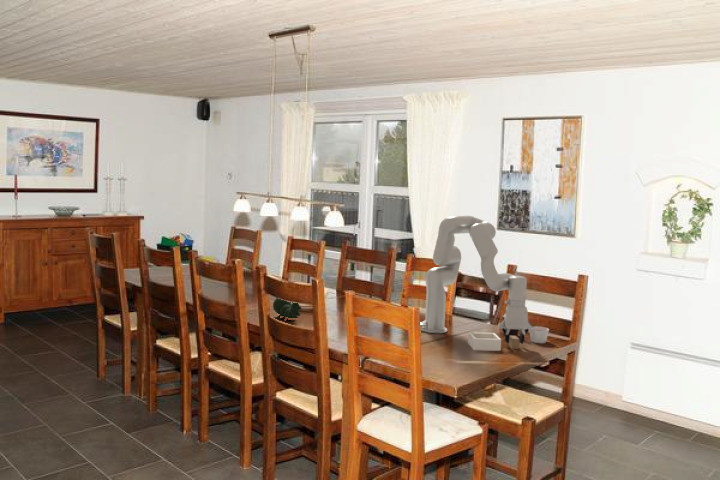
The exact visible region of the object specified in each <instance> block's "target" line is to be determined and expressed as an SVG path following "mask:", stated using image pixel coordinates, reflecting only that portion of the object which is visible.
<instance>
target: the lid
mask: <svg viewBox="0 0 720 480" xmlns="http://www.w3.org/2000/svg"><path fill="white" fill-rule="evenodd" d="M508 346H509V347H510V348H511V349H513V350H514V349H515V350H516V349H517V350H518V349H520V337H518V336H509V344H508Z"/></svg>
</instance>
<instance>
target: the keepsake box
mask: <svg viewBox="0 0 720 480" xmlns="http://www.w3.org/2000/svg"><path fill="white" fill-rule="evenodd" d="M467 334H468V335H467V344H468V345H469V346H470V347H471V349H472V350H473V351H490V352H491V351H493V352H494V351H498V352H500V351H501V348H502V338H500V337H499V336H498V335H497V333H495V332H474V331H473V332H468V333H467Z"/></svg>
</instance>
